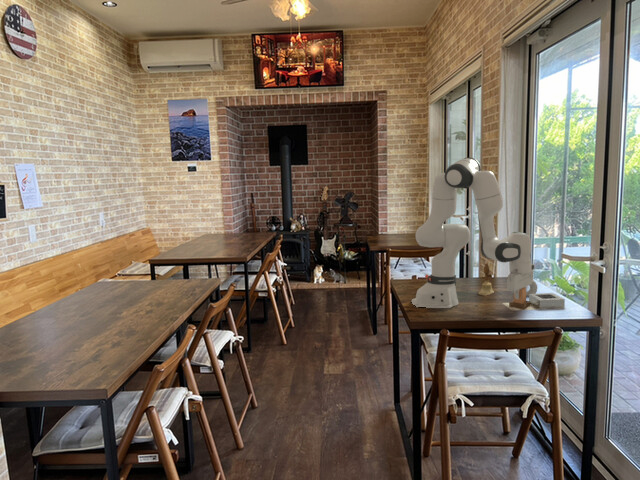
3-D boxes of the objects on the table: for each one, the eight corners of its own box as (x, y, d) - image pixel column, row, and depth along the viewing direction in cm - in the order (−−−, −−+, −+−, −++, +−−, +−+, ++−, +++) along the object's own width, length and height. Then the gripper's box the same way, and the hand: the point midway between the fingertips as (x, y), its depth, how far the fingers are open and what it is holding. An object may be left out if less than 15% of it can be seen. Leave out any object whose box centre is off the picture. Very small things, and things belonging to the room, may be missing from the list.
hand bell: (479, 295, 238) (479, 265, 236) (477, 291, 246) (477, 262, 244) (496, 296, 236) (496, 265, 234) (494, 291, 244) (494, 262, 242)
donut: (535, 296, 232) (535, 276, 230) (538, 298, 228) (539, 278, 227) (515, 297, 231) (515, 278, 230) (518, 299, 228) (519, 279, 226)
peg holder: (524, 309, 207) (524, 304, 207) (509, 306, 212) (509, 302, 212) (530, 305, 212) (530, 301, 211) (515, 303, 216) (515, 299, 216)
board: (511, 313, 206) (511, 310, 206) (501, 306, 218) (501, 303, 218) (566, 311, 206) (566, 308, 205) (553, 304, 218) (553, 300, 217)
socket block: (539, 308, 206) (539, 300, 206) (528, 302, 217) (529, 293, 217) (564, 307, 206) (564, 299, 205) (552, 301, 217) (552, 292, 216)
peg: (522, 307, 209) (522, 289, 208) (513, 306, 212) (513, 288, 211) (525, 305, 212) (526, 287, 210) (517, 304, 215) (517, 286, 213)
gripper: (517, 272, 200) (517, 303, 202) (536, 264, 214) (535, 293, 216) (503, 270, 204) (502, 301, 206) (522, 263, 218) (522, 291, 220)
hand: (519, 297), depth 211 cm, fingers closed on peg, 4 cm apart
